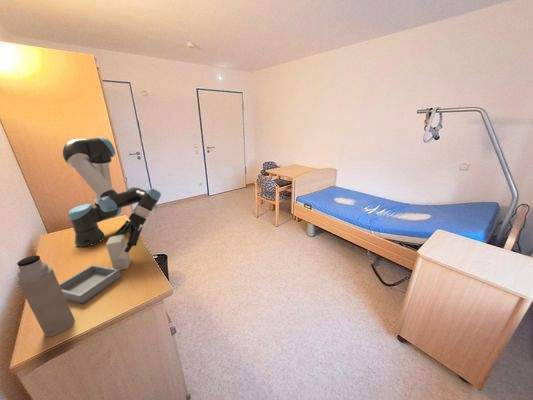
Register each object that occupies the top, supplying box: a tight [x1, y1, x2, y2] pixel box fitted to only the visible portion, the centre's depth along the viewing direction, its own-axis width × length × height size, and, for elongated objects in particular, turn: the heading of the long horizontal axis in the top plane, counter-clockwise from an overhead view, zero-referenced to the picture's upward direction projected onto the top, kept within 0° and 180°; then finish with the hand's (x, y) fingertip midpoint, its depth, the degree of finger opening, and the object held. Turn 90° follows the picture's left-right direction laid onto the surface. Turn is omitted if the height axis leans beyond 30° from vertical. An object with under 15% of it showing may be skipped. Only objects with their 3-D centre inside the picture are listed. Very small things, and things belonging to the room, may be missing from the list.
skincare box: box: [105, 234, 132, 271], centre depth 107 cm, size 8×7×16 cm
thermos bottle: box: [16, 255, 75, 337], centre depth 71 cm, size 8×8×28 cm
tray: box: [59, 264, 122, 306], centre depth 95 cm, size 17×17×4 cm
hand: (115, 253), depth 105 cm, fingers open, 13 cm apart
